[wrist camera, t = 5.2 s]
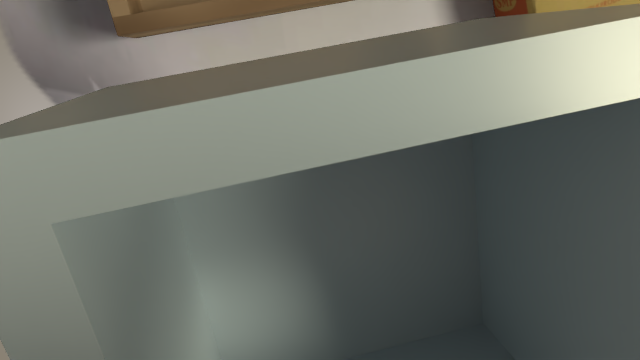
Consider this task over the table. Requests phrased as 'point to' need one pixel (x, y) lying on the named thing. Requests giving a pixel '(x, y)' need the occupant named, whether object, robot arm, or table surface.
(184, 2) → the crate
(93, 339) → the small crate
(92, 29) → the table surface
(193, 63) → the table surface
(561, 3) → the carton
